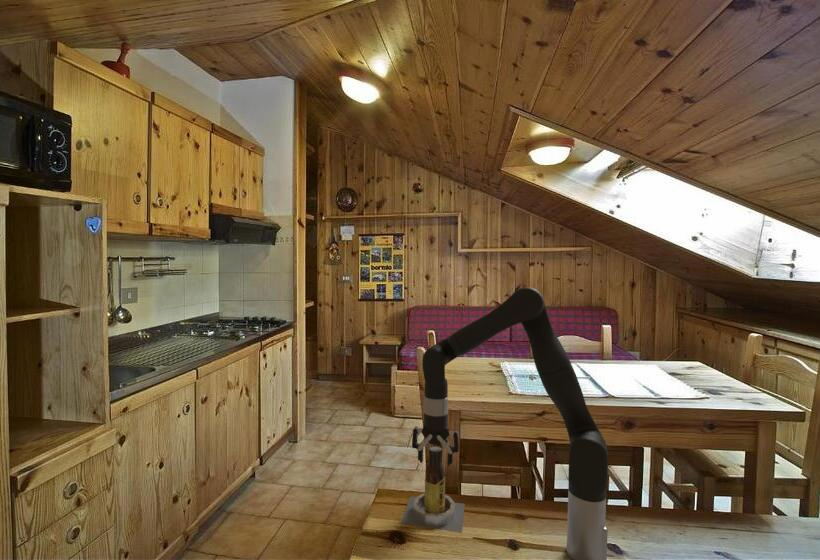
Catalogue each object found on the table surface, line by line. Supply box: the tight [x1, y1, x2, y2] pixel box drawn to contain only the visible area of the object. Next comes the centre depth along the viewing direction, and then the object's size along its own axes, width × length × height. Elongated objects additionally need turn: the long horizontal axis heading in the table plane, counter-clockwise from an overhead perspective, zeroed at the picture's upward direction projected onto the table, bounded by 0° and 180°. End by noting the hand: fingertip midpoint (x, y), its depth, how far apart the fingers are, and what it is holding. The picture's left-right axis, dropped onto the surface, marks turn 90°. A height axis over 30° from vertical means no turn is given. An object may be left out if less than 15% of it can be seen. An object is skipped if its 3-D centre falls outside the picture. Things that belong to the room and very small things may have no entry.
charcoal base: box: [400, 496, 466, 534], centre depth 120 cm, size 18×14×1 cm
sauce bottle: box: [424, 446, 446, 514], centre depth 120 cm, size 6×6×20 cm
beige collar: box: [413, 492, 456, 527], centre depth 120 cm, size 12×12×3 cm
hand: (435, 463), depth 120 cm, fingers open, 8 cm apart
